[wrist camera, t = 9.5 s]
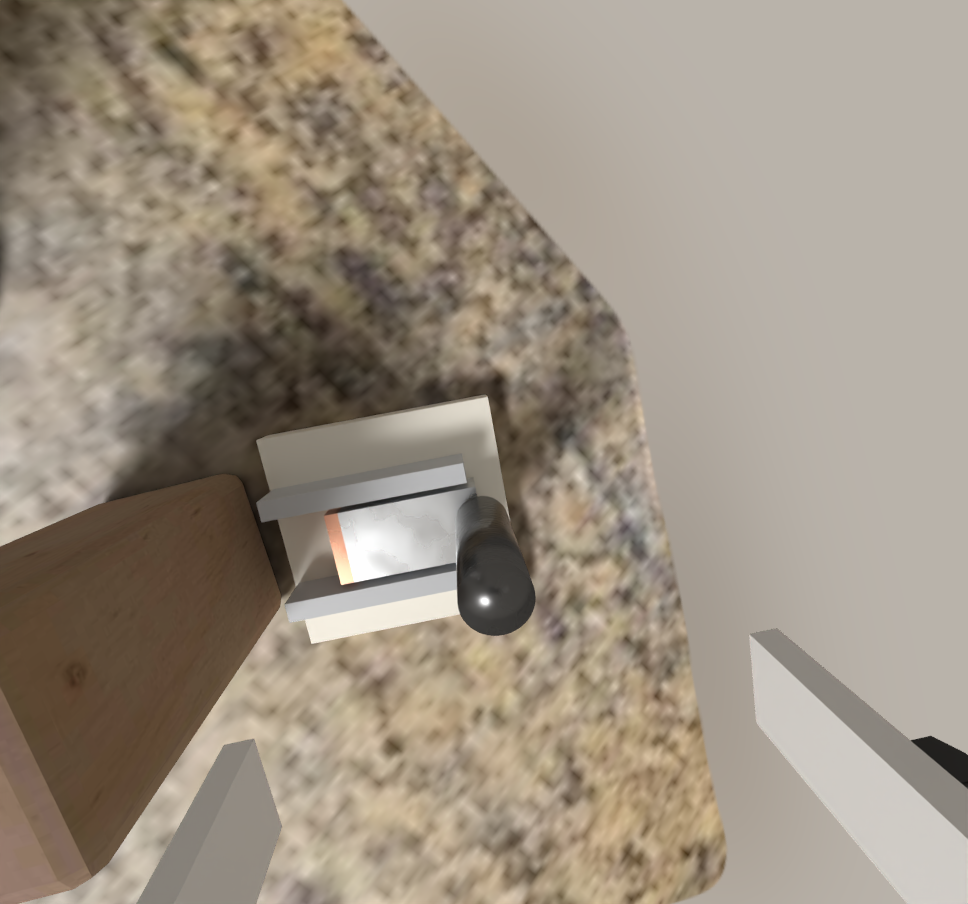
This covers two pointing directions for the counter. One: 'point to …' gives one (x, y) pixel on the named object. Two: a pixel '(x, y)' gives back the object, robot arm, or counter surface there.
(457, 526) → the ram handle
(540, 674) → the counter surface
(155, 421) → the counter surface
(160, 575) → the wooden block
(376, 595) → the base
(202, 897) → the robot arm
